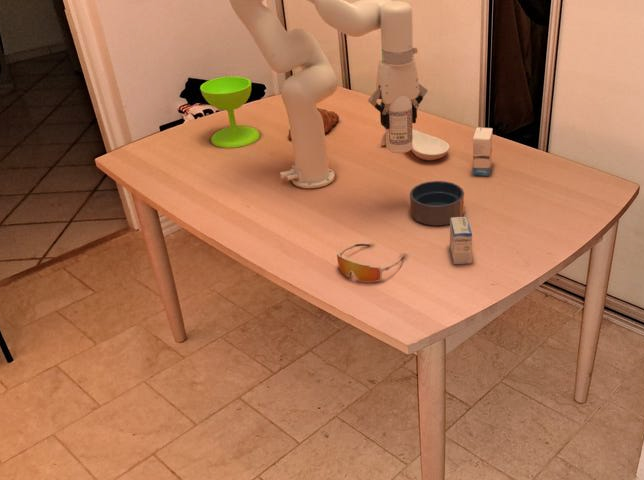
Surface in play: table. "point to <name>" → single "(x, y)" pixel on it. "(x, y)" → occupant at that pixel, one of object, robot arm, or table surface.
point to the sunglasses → (361, 267)
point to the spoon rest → (425, 145)
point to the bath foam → (400, 126)
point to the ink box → (482, 151)
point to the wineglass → (230, 109)
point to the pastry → (326, 120)
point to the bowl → (436, 202)
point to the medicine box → (460, 240)
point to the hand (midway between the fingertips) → (398, 123)
